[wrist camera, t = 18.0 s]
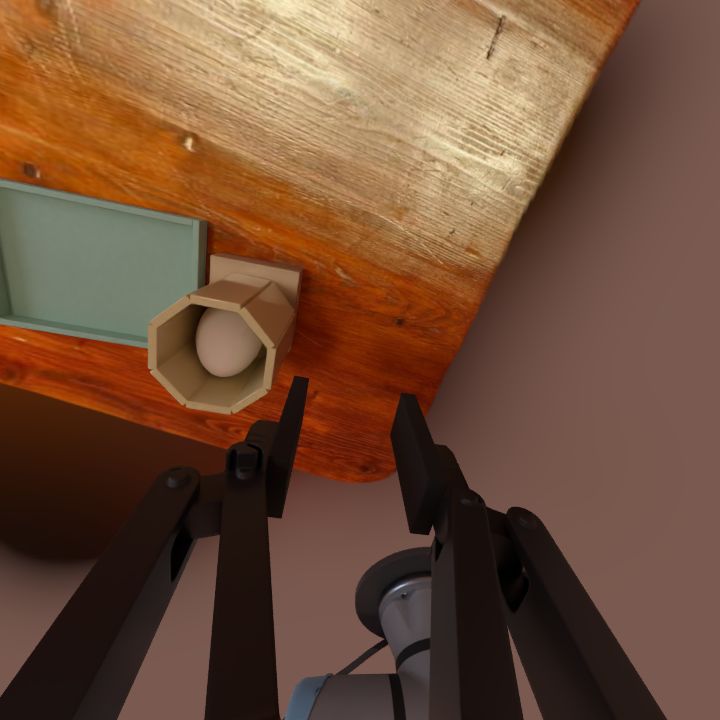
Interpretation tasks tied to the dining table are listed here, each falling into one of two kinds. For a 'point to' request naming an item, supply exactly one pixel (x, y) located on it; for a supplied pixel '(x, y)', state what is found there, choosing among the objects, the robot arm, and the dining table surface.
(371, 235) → the dining table surface
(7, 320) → the tray
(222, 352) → the egg
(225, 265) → the block
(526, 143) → the dining table surface
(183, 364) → the cup
